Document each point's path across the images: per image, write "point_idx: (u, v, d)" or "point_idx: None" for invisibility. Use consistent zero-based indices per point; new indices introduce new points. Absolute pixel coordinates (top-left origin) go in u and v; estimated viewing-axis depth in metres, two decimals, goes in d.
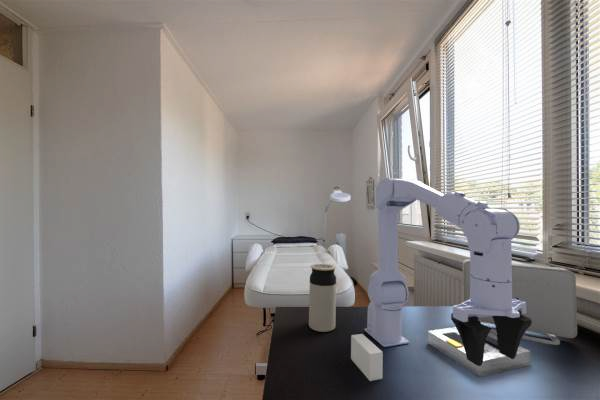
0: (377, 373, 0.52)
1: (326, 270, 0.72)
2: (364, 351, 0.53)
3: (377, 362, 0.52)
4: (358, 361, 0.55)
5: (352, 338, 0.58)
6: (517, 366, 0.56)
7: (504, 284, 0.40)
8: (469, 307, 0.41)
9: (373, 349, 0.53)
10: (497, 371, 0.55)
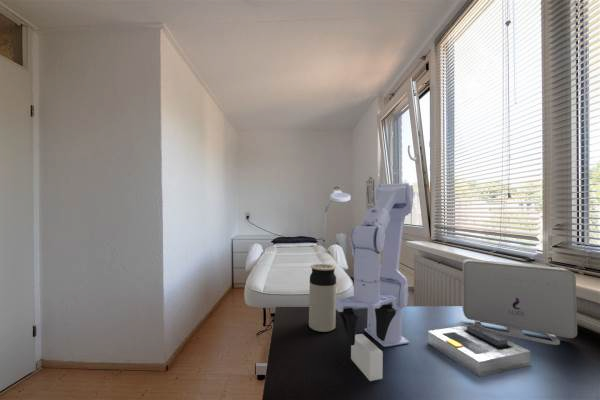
0: (377, 373, 0.52)
1: (326, 270, 0.72)
2: (364, 351, 0.53)
3: (377, 362, 0.52)
4: (358, 361, 0.56)
5: None
6: (517, 366, 0.56)
7: (371, 283, 0.53)
8: (347, 301, 0.54)
9: (373, 349, 0.53)
10: (497, 371, 0.55)
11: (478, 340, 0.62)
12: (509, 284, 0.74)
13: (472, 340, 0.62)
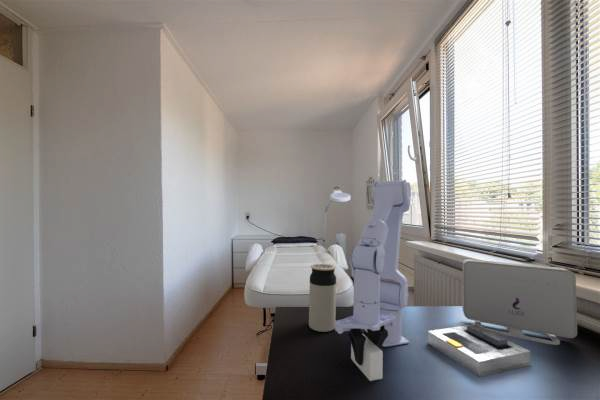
0: (377, 372, 0.52)
1: (326, 270, 0.72)
2: (364, 350, 0.53)
3: (377, 361, 0.52)
4: None
5: None
6: (517, 366, 0.56)
7: (370, 305, 0.53)
8: (346, 322, 0.54)
9: (373, 349, 0.53)
10: (497, 371, 0.55)
11: (478, 340, 0.62)
12: (509, 284, 0.74)
13: (472, 340, 0.62)
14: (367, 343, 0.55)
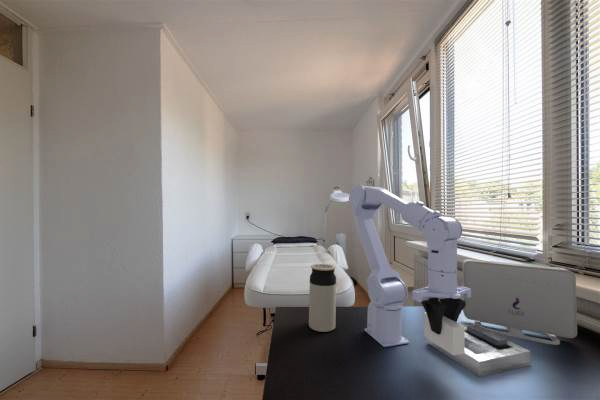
0: (460, 347, 0.52)
1: (326, 270, 0.72)
2: (444, 325, 0.53)
3: (459, 336, 0.52)
4: (435, 337, 0.56)
5: (425, 315, 0.58)
6: (517, 366, 0.56)
7: (450, 274, 0.53)
8: (424, 291, 0.55)
9: (454, 324, 0.53)
10: (497, 371, 0.55)
11: (478, 340, 0.62)
12: (509, 284, 0.74)
13: (472, 340, 0.62)
14: (444, 319, 0.55)
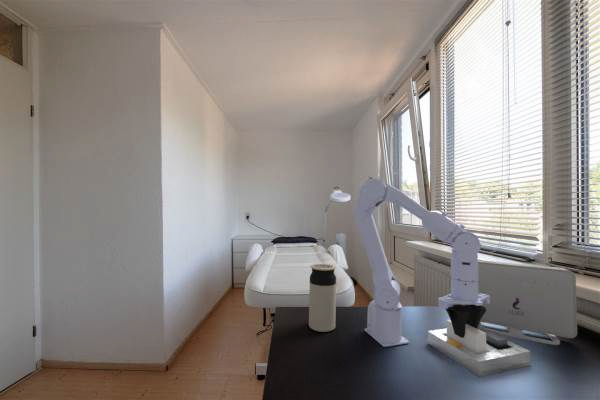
0: (482, 352, 0.57)
1: (326, 270, 0.72)
2: (467, 332, 0.59)
3: (482, 342, 0.57)
4: (458, 342, 0.61)
5: (448, 322, 0.64)
6: (517, 366, 0.56)
7: (472, 283, 0.59)
8: (449, 299, 0.60)
9: (476, 331, 0.59)
10: (497, 371, 0.55)
11: None
12: (509, 284, 0.74)
13: None
14: (466, 326, 0.61)
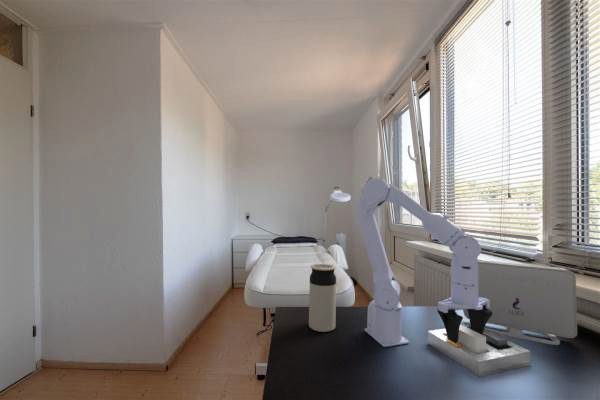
0: None
1: (326, 270, 0.72)
2: (467, 336, 0.59)
3: (482, 346, 0.57)
4: None
5: None
6: (517, 366, 0.56)
7: (472, 287, 0.59)
8: (449, 303, 0.60)
9: (476, 334, 0.59)
10: (497, 371, 0.55)
11: None
12: (509, 284, 0.74)
13: None
14: (466, 330, 0.61)
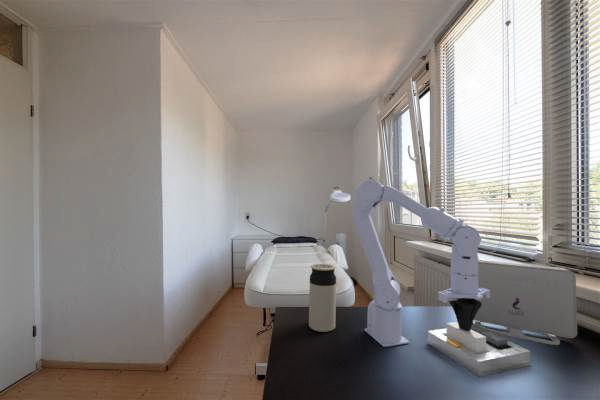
0: None
1: (326, 270, 0.72)
2: (467, 336, 0.59)
3: (482, 346, 0.57)
4: None
5: (448, 325, 0.64)
6: (517, 366, 0.56)
7: (472, 277, 0.59)
8: (449, 293, 0.60)
9: (476, 334, 0.59)
10: (497, 371, 0.55)
11: None
12: (509, 284, 0.74)
13: None
14: None
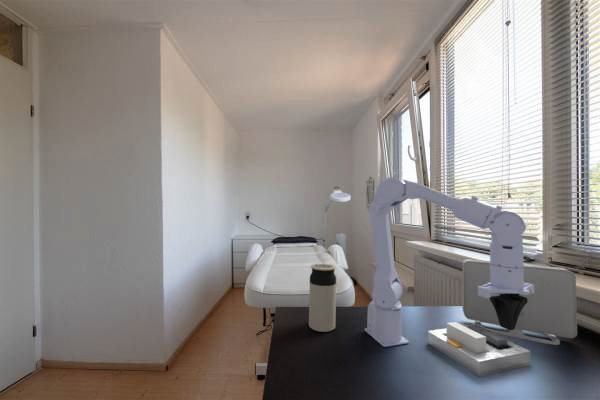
0: None
1: (326, 270, 0.72)
2: (467, 336, 0.59)
3: (482, 346, 0.57)
4: None
5: (448, 325, 0.64)
6: (517, 366, 0.56)
7: (518, 269, 0.52)
8: (490, 287, 0.53)
9: (476, 334, 0.59)
10: (497, 371, 0.55)
11: None
12: None
13: None
14: (466, 330, 0.61)
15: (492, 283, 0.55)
